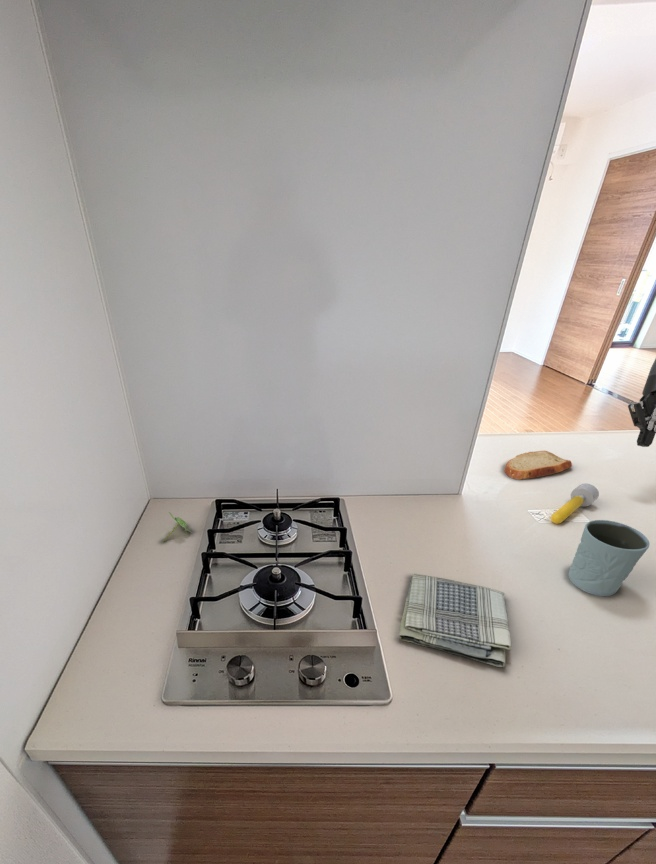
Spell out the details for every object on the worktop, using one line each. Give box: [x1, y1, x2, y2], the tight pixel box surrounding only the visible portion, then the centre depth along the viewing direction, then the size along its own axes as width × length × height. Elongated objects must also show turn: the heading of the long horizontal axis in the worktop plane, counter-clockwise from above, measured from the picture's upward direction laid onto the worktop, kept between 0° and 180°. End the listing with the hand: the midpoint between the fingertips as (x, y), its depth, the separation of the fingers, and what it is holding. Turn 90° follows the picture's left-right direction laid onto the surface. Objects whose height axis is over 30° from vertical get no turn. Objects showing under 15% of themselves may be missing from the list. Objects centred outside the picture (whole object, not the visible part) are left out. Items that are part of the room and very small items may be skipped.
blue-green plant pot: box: [568, 519, 650, 597], centre depth 86 cm, size 10×10×12 cm
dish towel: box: [398, 573, 512, 668], centre depth 80 cm, size 19×18×3 cm
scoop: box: [550, 483, 600, 525], centre depth 109 cm, size 5×5×17 cm
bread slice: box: [504, 450, 573, 481], centre depth 128 cm, size 18×18×4 cm
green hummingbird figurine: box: [162, 511, 192, 543], centre depth 104 cm, size 7×8×7 cm
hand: (642, 446), depth 109 cm, fingers closed
